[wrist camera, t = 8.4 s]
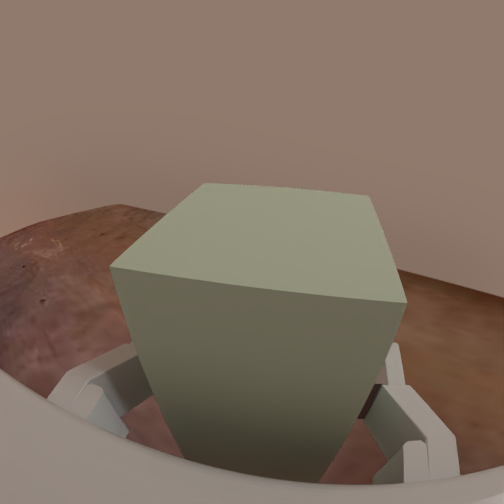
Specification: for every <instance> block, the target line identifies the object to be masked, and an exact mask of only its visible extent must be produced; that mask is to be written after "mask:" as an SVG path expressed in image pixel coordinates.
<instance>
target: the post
mask: <svg viewBox="0 0 504 504" xmlns="http://www.w3.org/2000/svg"><path fill="white" fill-rule="evenodd" d="M109 267H110V271H111V274H112V278H113V281H114V285H115V288H116V292H117V295H118V298H119V302H120V305H121V308H122V311H123V314H124V317H125V320H126V323H127V326H128V329H129V332H130V335H131V338H132V341H133V344H134V346H135V349H136V352H137V354H138V357H139V360H140V362H141V365H142V367H143V370H144V372H145V375H146V377H147V380H148V382H149V385H150V387H151V389H152V392H153V394H154V396H155V399H156V401H157V403H158V405H159V408H160V410H161V412H162V414H163V416H164V418H165V421H166V423H167V425H168V427H169V429H170V431H171V433H172V435H173V437H174V439H175V441H176V443H177V445H178V447H179V449H180V451H181V453H182V454H183V456H184V458H185V459H186V460H190V461H193V462H197V463H201V464H204V465H208V466H212V467H216V468H220V469H225V470H229V471H234V472H239V473H244V474H249V475H255V476H260V477H267V478H273V479H280V480H288V481H297V482H308V483H318V482H319V480H320V479H321V478H322V476H323V475H324V473H325V471H326V470H327V468H328V467H329V465H330V464H331V462H332V461H333V459H334V457H335V456H336V454H337V452H338V451H339V449H340V447H341V446H342V444H343V442H344V441H345V439H346V437H347V435H348V434H349V432H350V430H351V428H352V427H353V425H354V423H355V421H356V419H357V417H358V416H359V414H360V412H361V410H362V408H363V406H364V404H365V402H366V400H367V398H368V396H369V394H370V392H371V390H372V388H373V386H374V384H375V382H376V379H377V377H378V375H379V373H380V371H381V368H382V366H383V364H384V362H385V359H386V357H387V355H388V352H389V350H390V348H391V345H392V343H393V340H394V338H395V335H396V333H397V330H398V328H399V325H400V322H401V320H402V317H403V314H404V311H405V309H406V306H407V300H406V297H405V293H404V290H403V287H402V284H401V281H400V278H399V275H398V272H397V269H396V266H395V263H394V260H393V257H392V254H391V252H390V249H389V246H388V243H387V240H386V238H385V235H384V232H383V230H382V227H381V225H380V222H379V220H378V217H377V215H376V212H375V210H374V208H373V205H372V203H371V200H370V198H369V196H363V195H355V194H346V193H338V192H327V191H318V190H306V189H295V188H282V187H269V186H253V185H234V184H213V183H204V184H203V185H202V186H200V187H199V188H198V189H197V190H195V191H194V192H193V193H192V194H191V195H189V196H188V197H187V198H186V199H185V200H183V201H182V202H181V203H180V204H179V205H177V206H176V207H175V208H174V209H173V210H171V211H170V212H169V213H168V214H167V215H165V216H164V217H163V218H162V219H161V220H160V221H158V222H157V223H156V224H155V225H154V226H153V227H152V228H150V229H149V230H148V231H147V232H146V233H145V234H144V235H143V236H141V237H140V238H139V239H138V240H137V241H136V242H135V243H134V244H133V245H131V246H130V247H129V248H128V249H127V250H126V251H125V252H124V253H123V254H122V255H121V256H120V257H118V258H117V259H116V260H115V261H114V262H113V263H112V264H111V265H110V266H109Z"/></svg>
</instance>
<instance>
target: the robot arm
mask: <svg viewBox="0 0 504 504" xmlns="http://www.w3.org/2000/svg"><path fill="white" fill-rule="evenodd" d="M151 395H153V392H152V389H151V387H150V385H149V382H148V380H147V377H146V375H145V372H144V370H143V367H142V365H141V362H140V360H139V357H138V354H137V352H136V349H135V346H134V344H133V341H131V342H130V344H127V343H125V344H123V345H121V346H119V347H117V348H115V349H113V350H111V351H108V352H106V353H104V354H102V355H100V356H98V357H96V358H94V359H92V360H90V361H88V362H86V363H83V364H81V365H79V366H77V367H75V368H73V369H71V370H69V371H67V372H66V374H65V375H64V376H63V378H62V379H61V380H60V382H59V383H58V384H57V386H56V387H55V388H54V390H53V391H52V392H51V394H50V395H49V396H48V398H47V399H46V398H44V397H42V396H41V395H39V394H37V393H36V392H34V391H33V390H31V389H29V388H28V387H26V386H25V385H23V384H22V383H20V382H19V381H17V380H16V379H14V378H13V377H11V376H10V375H9V374H7V373H6V372H4V371H3V370H2V369H0V504H504V465H502V466H499V467H495V468H491V469H487V470H483V471H479V472H475V473H470V474H465V475H460V470H459V461H458V453H457V446H456V439H455V436H454V435H453V433H452V432H451V431H450V430H449V429H448V428H447V427H446V425H445V424H444V423H443V422H442V421H441V420H440V419H439V417H438V416H437V415H436V414H435V413H434V412H433V411H432V410H431V408H430V407H429V406H428V405H427V404H426V403H425V402H424V401H423V399H422V398H421V397H420V396H419V395H418V394H417V393H416V392H415V390H414V389H413V388H412V387H411V386H410V385H405V379H404V373H403V367H402V361H401V356H400V350H399V345H398V344H397V343H392V345H391V348H390V350H389V352H388V355H387V357H386V359H385V362H384V364H383V366H382V368H381V371H380V373H379V375H378V377H377V379H376V382H375V384H374V386H373V388H372V390H371V392H370V394H369V396H368V398H367V400H366V402H365V404H364V406H363V408H362V410H361V412H360V414H359V416H358V417H357V419H364V422H365V423H366V425H367V427H368V429H369V430H370V432H371V434H372V435H373V437H374V439H375V440H376V442H377V444H378V445H379V447H380V449H381V450H382V452H383V454H384V456H385V457H386V459H387V461H388V462H387V463H386V464H385V465H384V466H383V467H382V468H381V469H380V470H379V471H378V472H377V473H376V474H375V475H374V476H373V485H341V484H321V483H308V482H297V481H288V480H280V479H273V478H267V477H260V476H255V475H249V474H244V473H239V472H234V471H229V470H225V469H220V468H216V467H212V466H208V465H204V464H201V463H197V462H193V461H190V460H186V459H183V458H180V457H176V456H173V455H170V454H167V453H164V452H161V451H158V450H155V449H152V448H150V447H147V446H144V445H142V444H139V443H136V442H134V441H131V440H129V439H126V437H127V435H128V433H129V430H128V428H127V426H126V425H125V423H124V422H123V420H122V419H121V416H123V415H124V414H126V413H127V412H129V411H130V410H131V409H133V408H134V407H136V406H137V405H139V404H140V403H142V402H143V401H144V400H146V399H147V398H149V397H150V396H151Z"/></svg>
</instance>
